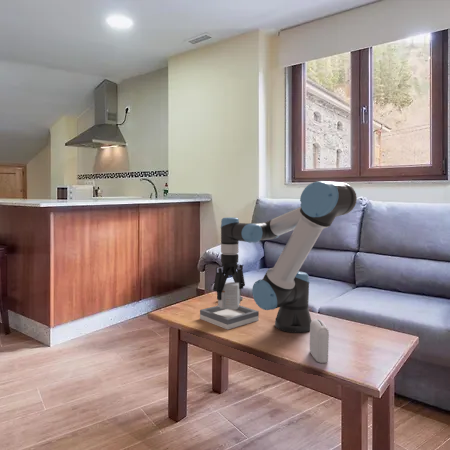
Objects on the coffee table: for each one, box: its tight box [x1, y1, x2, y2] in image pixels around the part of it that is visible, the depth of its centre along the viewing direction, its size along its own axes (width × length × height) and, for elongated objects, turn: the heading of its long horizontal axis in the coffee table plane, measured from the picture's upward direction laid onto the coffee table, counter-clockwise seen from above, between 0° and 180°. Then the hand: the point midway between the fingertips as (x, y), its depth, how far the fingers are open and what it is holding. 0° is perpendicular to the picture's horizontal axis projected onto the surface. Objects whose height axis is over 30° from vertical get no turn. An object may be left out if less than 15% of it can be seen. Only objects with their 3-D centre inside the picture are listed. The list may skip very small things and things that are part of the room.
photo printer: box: [309, 318, 330, 364], centre depth 128 cm, size 10×4×12 cm, turn 3°
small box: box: [219, 281, 240, 309], centre depth 166 cm, size 8×6×10 cm
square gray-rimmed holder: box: [199, 304, 260, 330], centre depth 166 cm, size 18×18×4 cm
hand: (229, 305), depth 166 cm, fingers closed on small box, 9 cm apart
